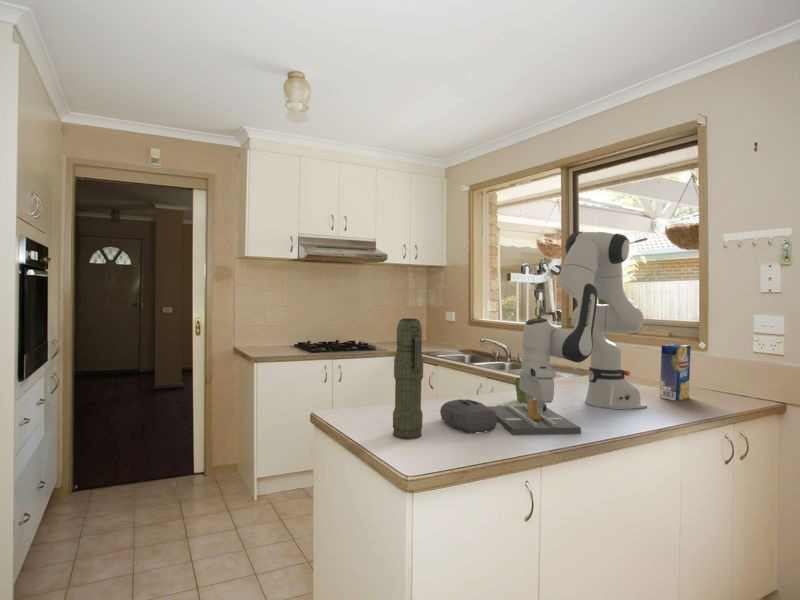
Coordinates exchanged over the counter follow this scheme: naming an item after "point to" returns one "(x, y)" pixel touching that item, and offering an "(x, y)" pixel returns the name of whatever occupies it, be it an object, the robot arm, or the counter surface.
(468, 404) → the small grey backpack
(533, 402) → the fader knob
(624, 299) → the robot arm
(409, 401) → the thermos
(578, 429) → the console board
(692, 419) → the counter surface
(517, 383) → the plant pot
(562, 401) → the counter surface
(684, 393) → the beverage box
